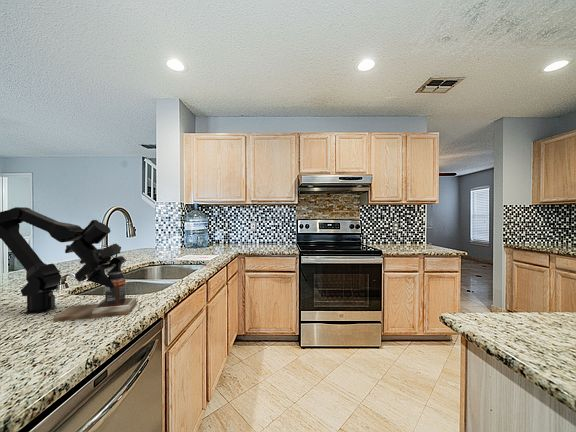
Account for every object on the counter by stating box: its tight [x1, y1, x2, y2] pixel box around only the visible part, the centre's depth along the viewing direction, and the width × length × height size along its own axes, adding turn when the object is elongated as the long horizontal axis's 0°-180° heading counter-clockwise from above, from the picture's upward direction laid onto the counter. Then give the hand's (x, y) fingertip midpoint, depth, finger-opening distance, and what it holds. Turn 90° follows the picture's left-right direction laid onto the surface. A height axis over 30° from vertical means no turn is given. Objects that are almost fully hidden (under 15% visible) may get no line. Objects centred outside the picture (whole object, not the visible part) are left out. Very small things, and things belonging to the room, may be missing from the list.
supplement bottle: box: [104, 271, 126, 307], centre depth 97 cm, size 6×6×11 cm
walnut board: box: [52, 296, 138, 323], centre depth 96 cm, size 21×12×3 cm, turn 106°
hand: (119, 284), depth 97 cm, fingers closed on supplement bottle, 6 cm apart
